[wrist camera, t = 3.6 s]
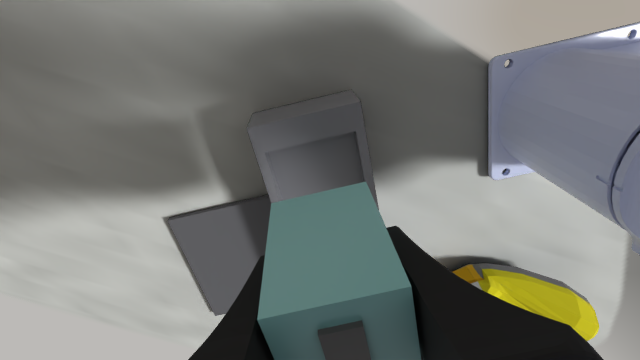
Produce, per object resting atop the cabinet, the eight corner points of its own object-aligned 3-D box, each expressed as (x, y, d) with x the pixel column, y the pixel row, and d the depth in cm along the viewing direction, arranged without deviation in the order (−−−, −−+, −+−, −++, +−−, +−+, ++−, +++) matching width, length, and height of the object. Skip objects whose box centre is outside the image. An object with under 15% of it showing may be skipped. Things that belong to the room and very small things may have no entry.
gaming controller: (565, 271, 28) (470, 228, 25) (623, 326, 23) (513, 279, 20) (454, 381, 33) (367, 355, 31) (482, 446, 28) (381, 421, 26)
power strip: (252, 113, 20) (245, 132, 17) (351, 89, 20) (362, 103, 17) (313, 305, 27) (316, 344, 24) (386, 289, 27) (399, 326, 24)
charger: (365, 181, 14) (413, 292, 8) (379, 257, 16) (426, 390, 10) (271, 203, 14) (256, 326, 9) (295, 275, 16) (296, 416, 10)
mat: (270, 194, 23) (270, 197, 22) (302, 292, 27) (302, 296, 26) (169, 217, 23) (167, 220, 23) (216, 311, 27) (215, 315, 27)
